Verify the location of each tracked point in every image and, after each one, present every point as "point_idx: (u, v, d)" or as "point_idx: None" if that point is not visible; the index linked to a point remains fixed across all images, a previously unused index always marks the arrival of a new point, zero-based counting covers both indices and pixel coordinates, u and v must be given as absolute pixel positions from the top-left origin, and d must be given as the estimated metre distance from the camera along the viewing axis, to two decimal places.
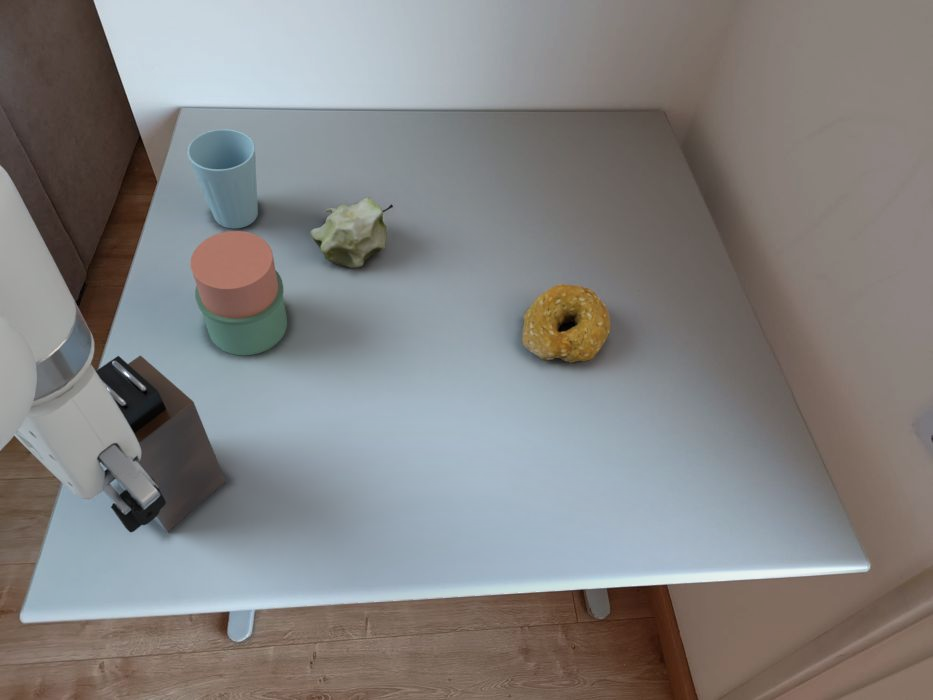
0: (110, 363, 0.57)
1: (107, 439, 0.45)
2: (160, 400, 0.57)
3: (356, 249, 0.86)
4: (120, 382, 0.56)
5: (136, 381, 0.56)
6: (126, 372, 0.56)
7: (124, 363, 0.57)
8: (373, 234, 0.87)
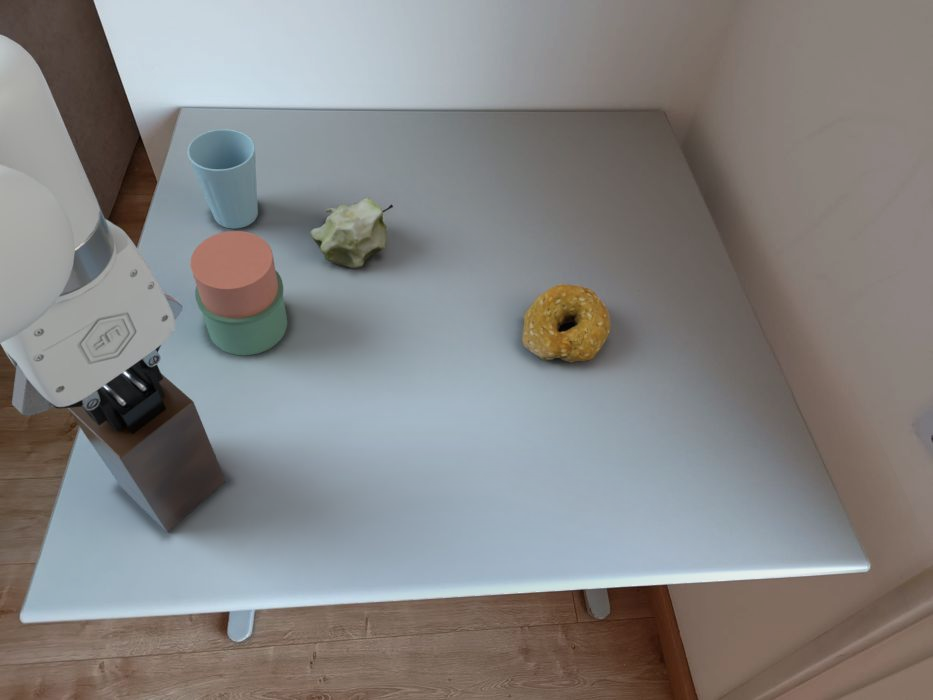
0: None
1: None
2: (160, 400, 0.57)
3: (356, 249, 0.86)
4: (120, 382, 0.56)
5: (136, 381, 0.56)
6: (126, 372, 0.56)
7: None
8: (373, 234, 0.87)
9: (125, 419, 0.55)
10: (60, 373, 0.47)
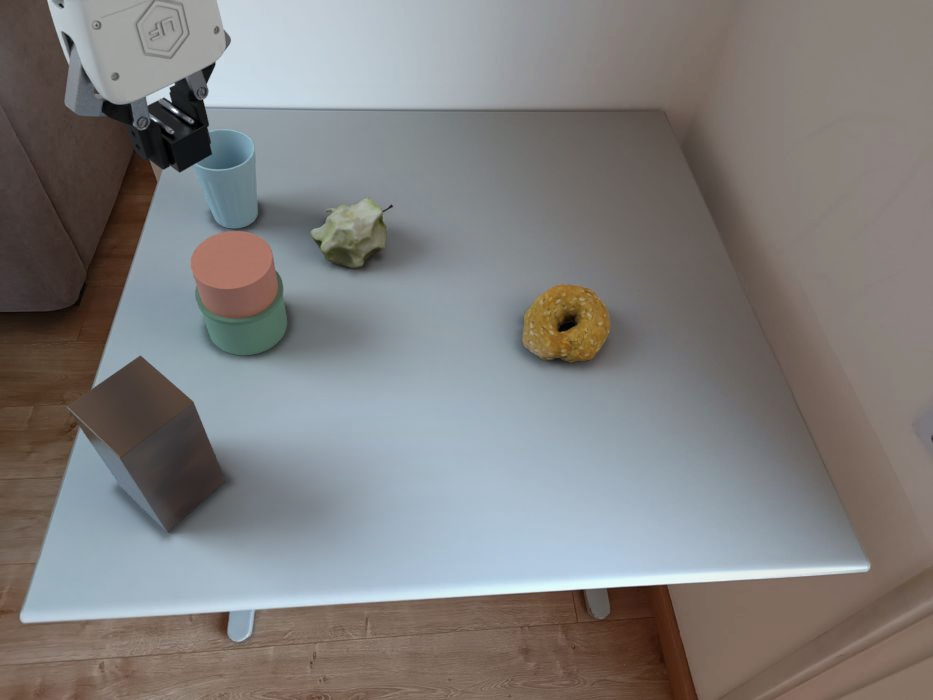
0: (156, 102, 0.56)
1: None
2: (207, 139, 0.56)
3: (356, 249, 0.86)
4: (166, 117, 0.55)
5: (184, 114, 0.55)
6: (173, 107, 0.55)
7: (170, 103, 0.56)
8: (373, 234, 0.87)
9: (173, 149, 0.54)
10: (116, 55, 0.46)
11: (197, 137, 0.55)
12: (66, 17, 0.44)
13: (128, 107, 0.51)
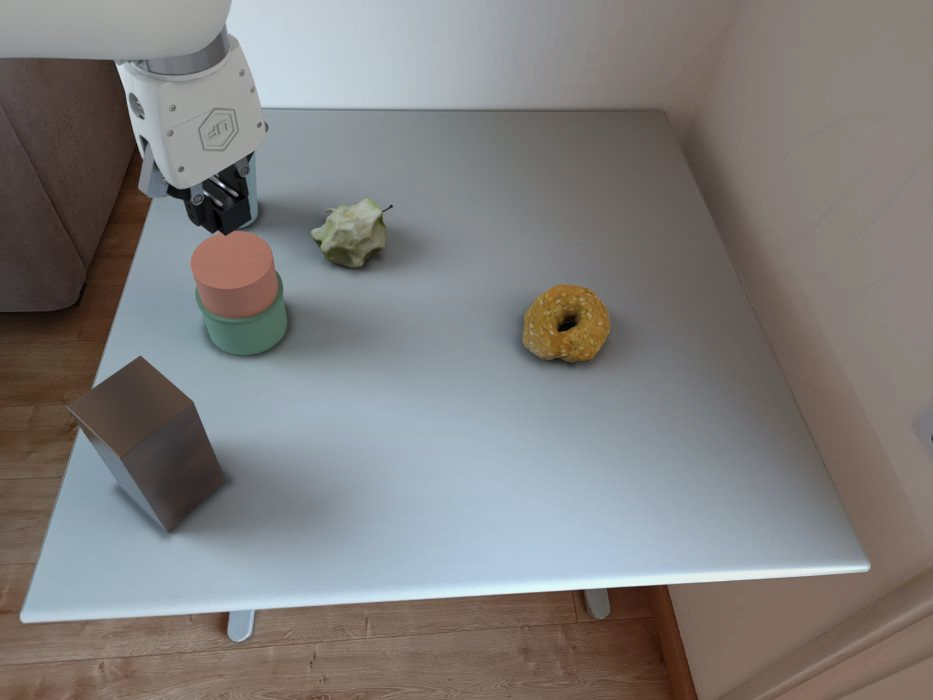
0: None
1: None
2: (248, 208, 0.67)
3: (356, 249, 0.86)
4: (215, 191, 0.67)
5: (229, 189, 0.66)
6: (220, 182, 0.67)
7: (217, 178, 0.68)
8: (373, 234, 0.87)
9: (222, 218, 0.65)
10: (182, 153, 0.57)
11: (240, 207, 0.67)
12: (145, 126, 0.55)
13: (187, 188, 0.62)
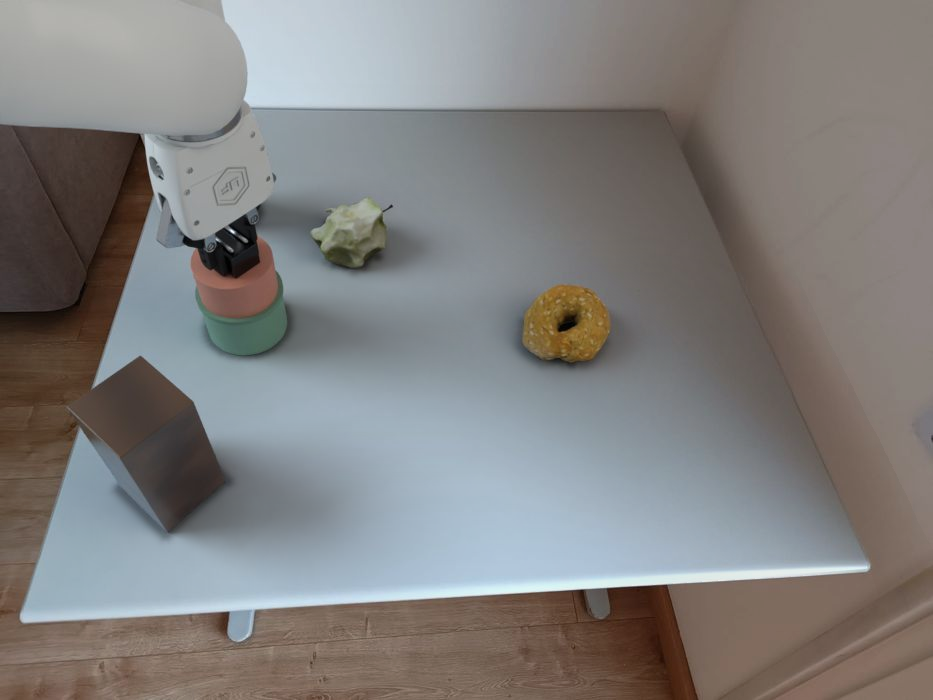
0: None
1: None
2: (257, 253, 0.72)
3: (356, 249, 0.86)
4: (226, 237, 0.71)
5: (240, 235, 0.71)
6: (231, 229, 0.71)
7: None
8: (373, 234, 0.87)
9: (232, 263, 0.70)
10: (198, 209, 0.62)
11: (250, 252, 0.71)
12: (164, 186, 0.60)
13: None
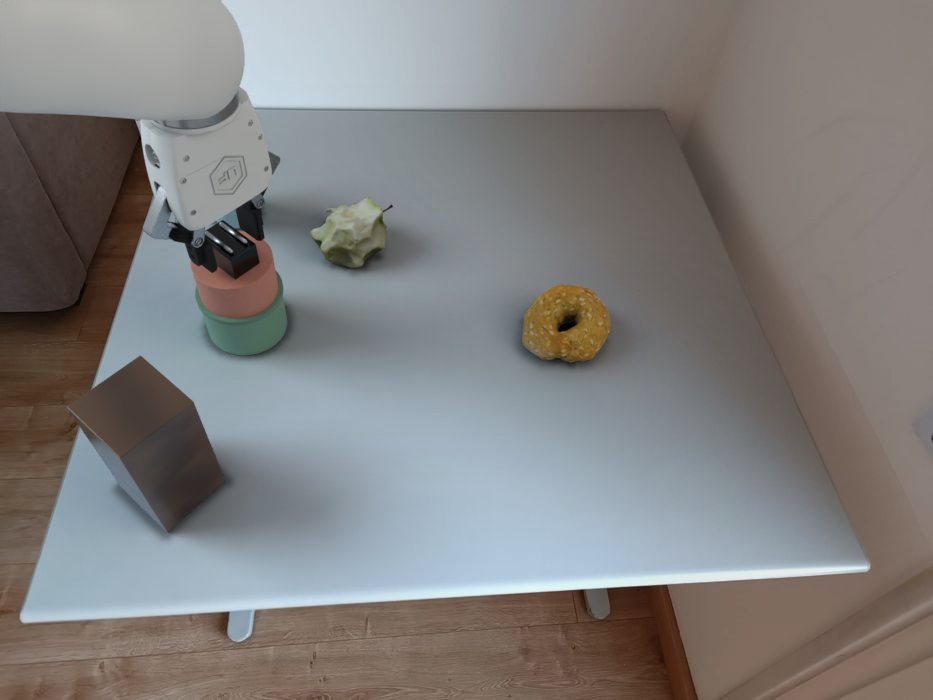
0: (217, 224, 0.72)
1: None
2: (256, 253, 0.72)
3: (356, 249, 0.86)
4: (226, 238, 0.71)
5: (239, 236, 0.71)
6: (231, 230, 0.71)
7: (228, 225, 0.72)
8: (373, 234, 0.87)
9: (232, 264, 0.70)
10: (195, 198, 0.61)
11: (249, 253, 0.71)
12: (160, 174, 0.59)
13: (190, 230, 0.65)
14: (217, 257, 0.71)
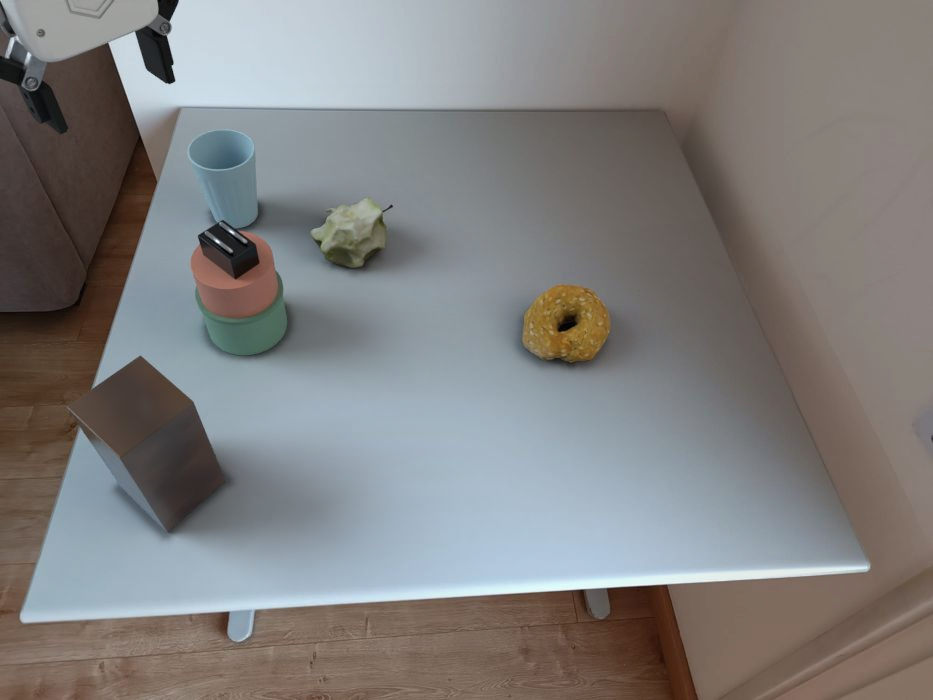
0: (217, 224, 0.72)
1: None
2: (256, 253, 0.72)
3: (356, 249, 0.86)
4: (226, 238, 0.71)
5: (239, 236, 0.71)
6: (231, 230, 0.71)
7: (228, 225, 0.72)
8: (373, 234, 0.87)
9: (232, 264, 0.70)
10: (40, 11, 0.47)
11: (249, 253, 0.71)
12: None
13: (25, 61, 0.50)
14: (217, 257, 0.71)
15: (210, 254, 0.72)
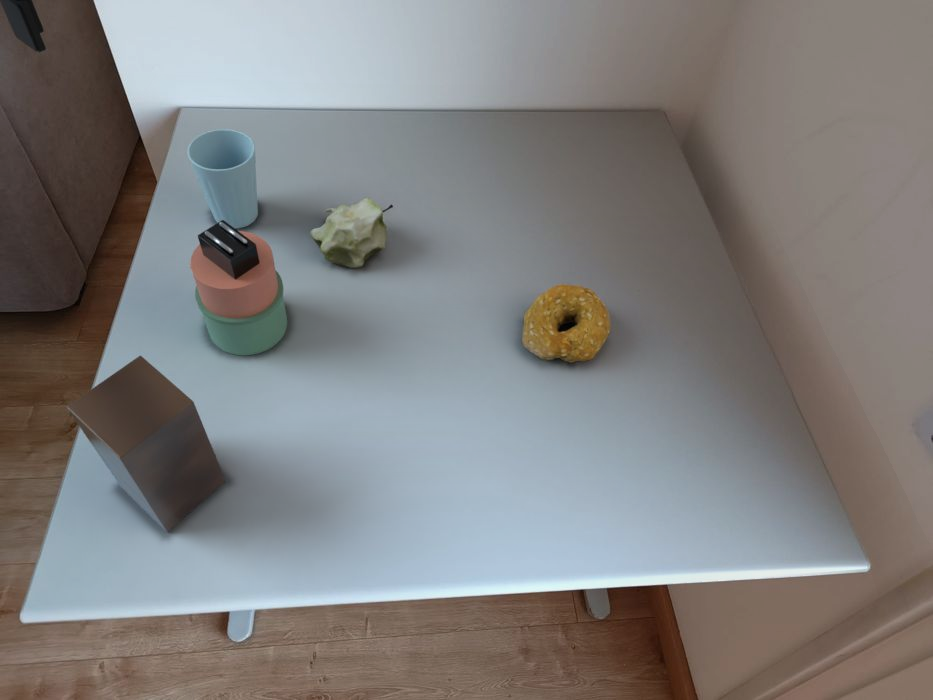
0: (217, 224, 0.72)
1: None
2: (256, 253, 0.72)
3: (356, 249, 0.86)
4: (226, 238, 0.71)
5: (239, 236, 0.71)
6: (231, 230, 0.71)
7: (228, 225, 0.72)
8: (373, 234, 0.87)
9: (232, 264, 0.70)
10: None
11: (249, 253, 0.71)
12: None
13: None
14: (217, 257, 0.71)
15: (210, 254, 0.72)
